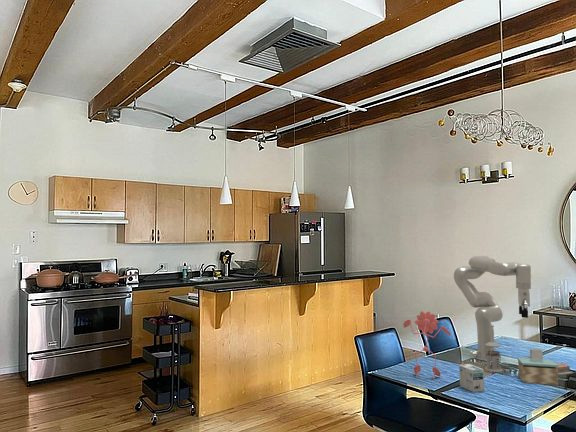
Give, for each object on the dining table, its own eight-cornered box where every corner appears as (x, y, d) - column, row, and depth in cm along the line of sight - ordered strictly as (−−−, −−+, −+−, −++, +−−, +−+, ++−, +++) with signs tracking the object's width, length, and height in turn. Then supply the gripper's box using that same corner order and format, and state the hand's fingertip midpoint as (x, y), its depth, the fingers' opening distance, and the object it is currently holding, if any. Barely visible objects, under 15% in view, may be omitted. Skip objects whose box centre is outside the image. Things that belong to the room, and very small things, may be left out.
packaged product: (558, 360, 259) (573, 365, 249) (559, 369, 259) (573, 374, 249) (531, 363, 255) (545, 368, 245) (532, 372, 255) (546, 377, 245)
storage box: (523, 382, 235) (522, 366, 236) (518, 374, 249) (518, 359, 249) (558, 385, 230) (557, 369, 231) (551, 377, 244) (550, 361, 244)
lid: (522, 364, 236) (522, 362, 236) (517, 359, 249) (517, 357, 249) (558, 367, 231) (558, 365, 231) (551, 361, 244) (551, 359, 244)
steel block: (532, 361, 239) (531, 350, 239) (530, 360, 243) (529, 348, 244) (543, 362, 237) (542, 350, 238) (540, 360, 242) (540, 349, 243)
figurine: (450, 382, 236) (448, 314, 239) (401, 375, 250) (399, 311, 252) (455, 375, 249) (454, 310, 252) (409, 369, 263) (407, 307, 265)
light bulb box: (485, 391, 223) (484, 368, 223) (473, 392, 221) (472, 370, 221) (470, 384, 233) (469, 363, 234) (459, 386, 231) (458, 364, 232)
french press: (505, 368, 260) (503, 324, 261) (498, 373, 251) (496, 327, 253) (487, 365, 266) (486, 322, 268) (480, 370, 258) (478, 325, 259)
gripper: (533, 288, 250) (533, 319, 250) (528, 284, 267) (528, 313, 266) (518, 287, 253) (518, 318, 252) (514, 283, 269) (514, 312, 269)
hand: (523, 315), depth 259 cm, fingers open, 9 cm apart
